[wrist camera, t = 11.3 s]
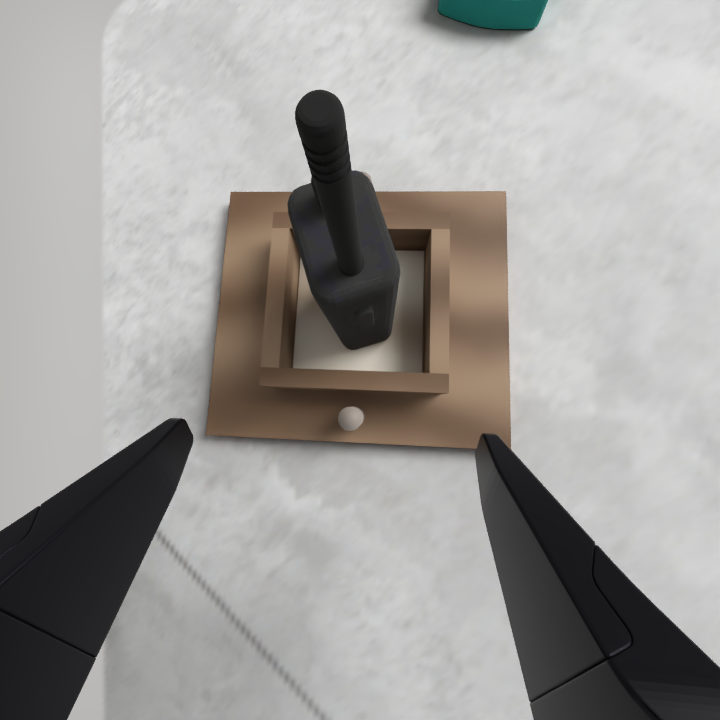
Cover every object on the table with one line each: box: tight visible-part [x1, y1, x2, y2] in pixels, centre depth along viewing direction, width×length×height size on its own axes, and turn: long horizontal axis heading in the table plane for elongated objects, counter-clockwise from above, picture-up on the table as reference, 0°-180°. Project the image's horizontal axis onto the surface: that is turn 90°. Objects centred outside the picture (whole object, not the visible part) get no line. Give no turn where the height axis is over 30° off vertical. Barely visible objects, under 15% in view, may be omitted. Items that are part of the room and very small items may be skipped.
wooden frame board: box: [206, 172, 511, 449], centre depth 19 cm, size 16×18×4 cm
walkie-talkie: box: [287, 90, 401, 350], centre depth 13 cm, size 5×3×15 cm
